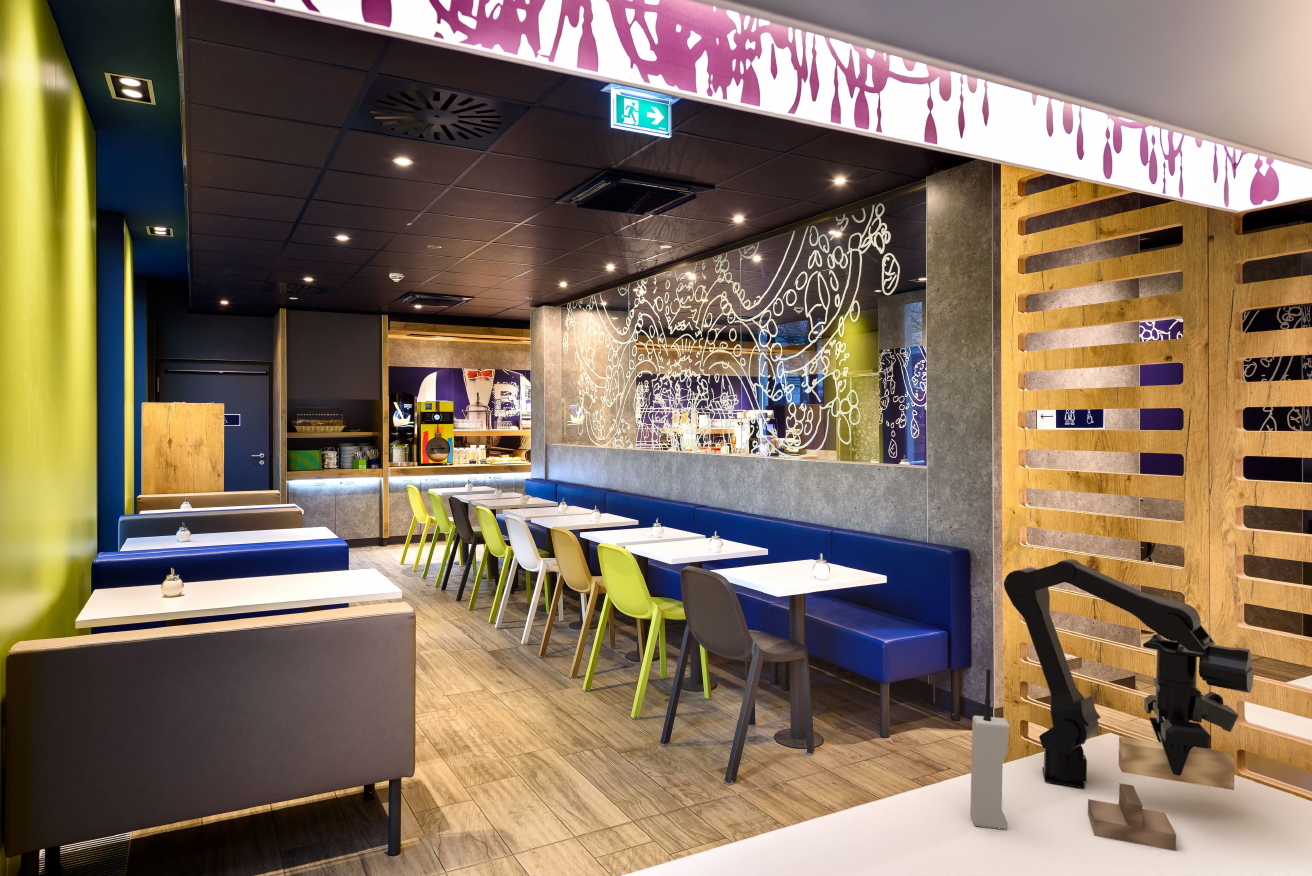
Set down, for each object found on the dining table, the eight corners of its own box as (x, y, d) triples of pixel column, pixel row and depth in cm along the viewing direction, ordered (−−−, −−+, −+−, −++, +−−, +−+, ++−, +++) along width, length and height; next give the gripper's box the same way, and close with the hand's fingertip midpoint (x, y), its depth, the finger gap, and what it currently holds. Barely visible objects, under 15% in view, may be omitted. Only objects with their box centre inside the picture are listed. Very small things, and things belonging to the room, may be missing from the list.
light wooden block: (1121, 772, 135) (1122, 743, 135) (1118, 764, 139) (1119, 736, 139) (1234, 790, 129) (1234, 759, 129) (1227, 781, 132) (1228, 752, 132)
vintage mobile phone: (1007, 830, 126) (1011, 673, 126) (974, 826, 127) (978, 671, 127) (1002, 819, 130) (1005, 667, 130) (970, 816, 131) (973, 664, 131)
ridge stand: (1094, 835, 125) (1095, 797, 125) (1087, 814, 133) (1088, 778, 133) (1175, 850, 121) (1176, 811, 121) (1164, 827, 128) (1165, 790, 128)
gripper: (1251, 701, 122) (1249, 802, 122) (1217, 670, 140) (1215, 759, 139) (1167, 691, 127) (1164, 788, 126) (1144, 662, 144) (1142, 748, 144)
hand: (1174, 770), depth 134 cm, fingers closed on light wooden block, 3 cm apart
